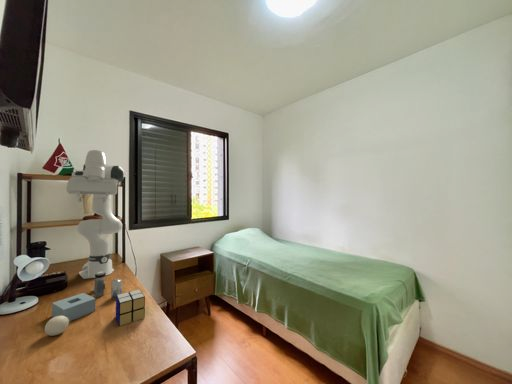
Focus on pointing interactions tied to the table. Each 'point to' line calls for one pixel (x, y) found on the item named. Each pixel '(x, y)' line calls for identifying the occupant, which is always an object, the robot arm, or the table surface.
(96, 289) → the square bit
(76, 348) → the table surface
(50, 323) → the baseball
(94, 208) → the robot arm
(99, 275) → the push button
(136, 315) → the puzzle cube
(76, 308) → the socket block
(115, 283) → the round bit
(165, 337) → the table surface
